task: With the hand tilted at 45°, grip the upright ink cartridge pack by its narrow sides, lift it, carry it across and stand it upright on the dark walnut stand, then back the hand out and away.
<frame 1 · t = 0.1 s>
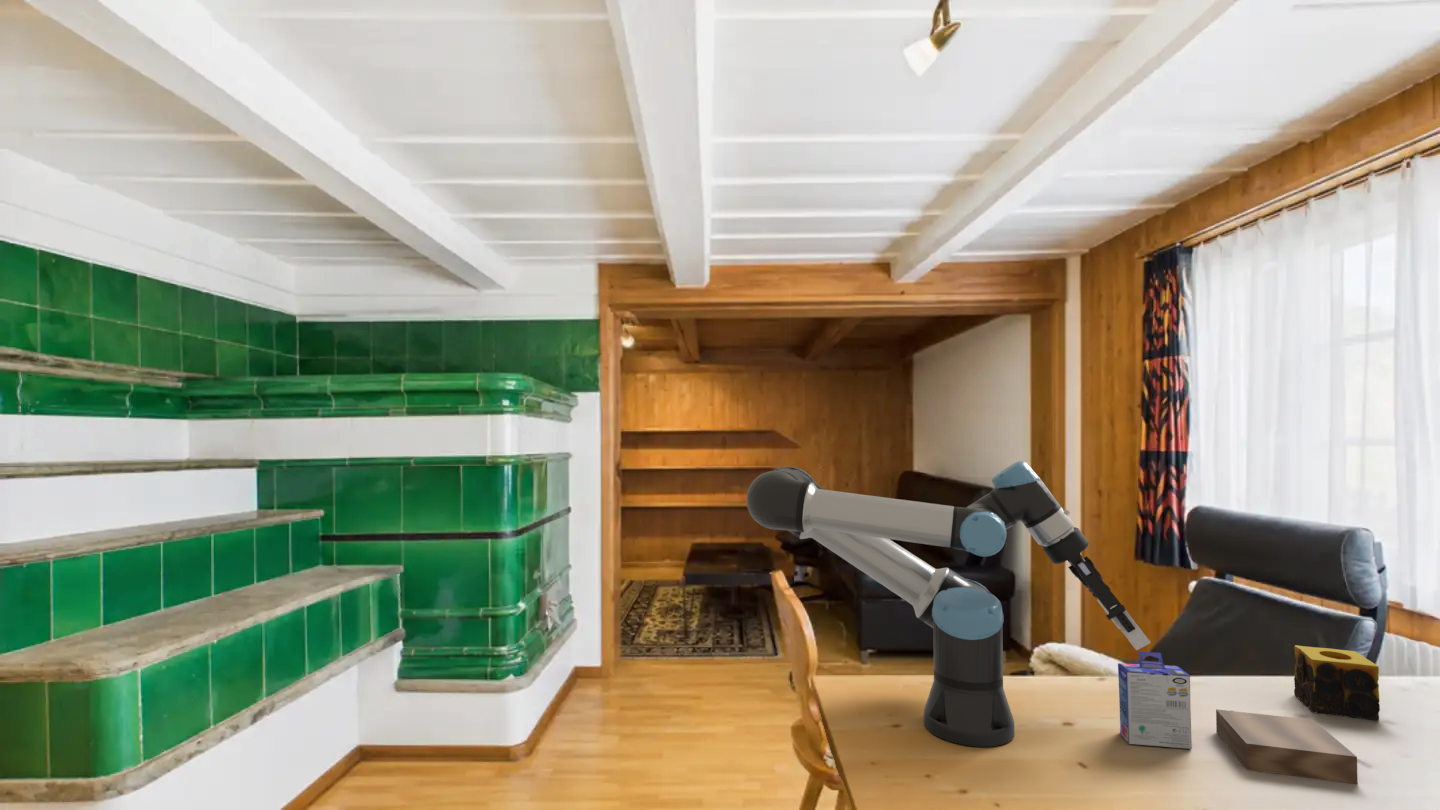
hand: (1133, 635, 130), 15 cm above the table, tool tilted 35°, fingers open, 13 cm apart
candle: (1334, 708, 135), on the table
ink cartridge box: (1154, 741, 121), on the table
walnut stand: (1281, 756, 116), on the table
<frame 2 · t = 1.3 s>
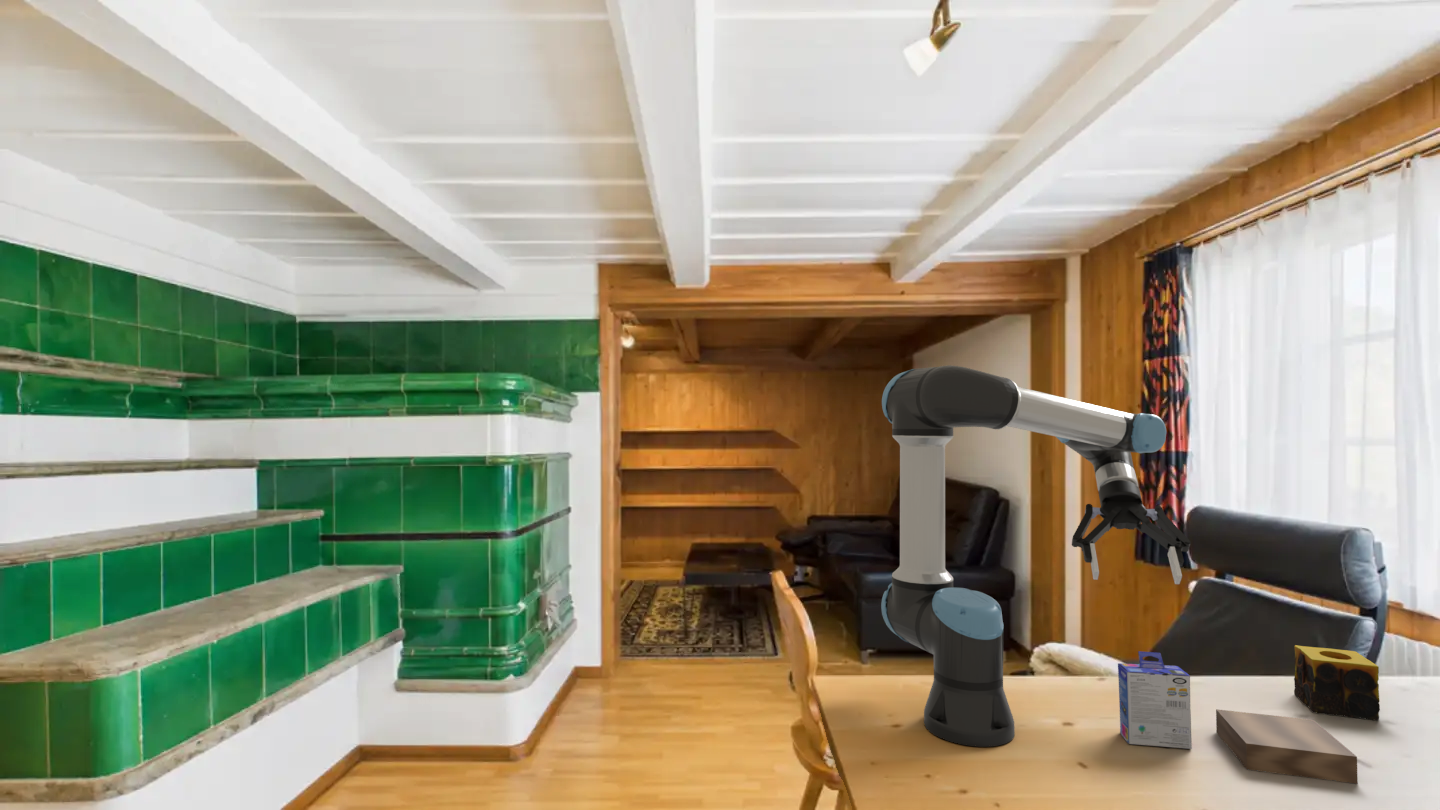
hand: (1136, 578, 134), 25 cm above the table, tool tilted 45°, fingers open, 13 cm apart
nothing on the table moved.
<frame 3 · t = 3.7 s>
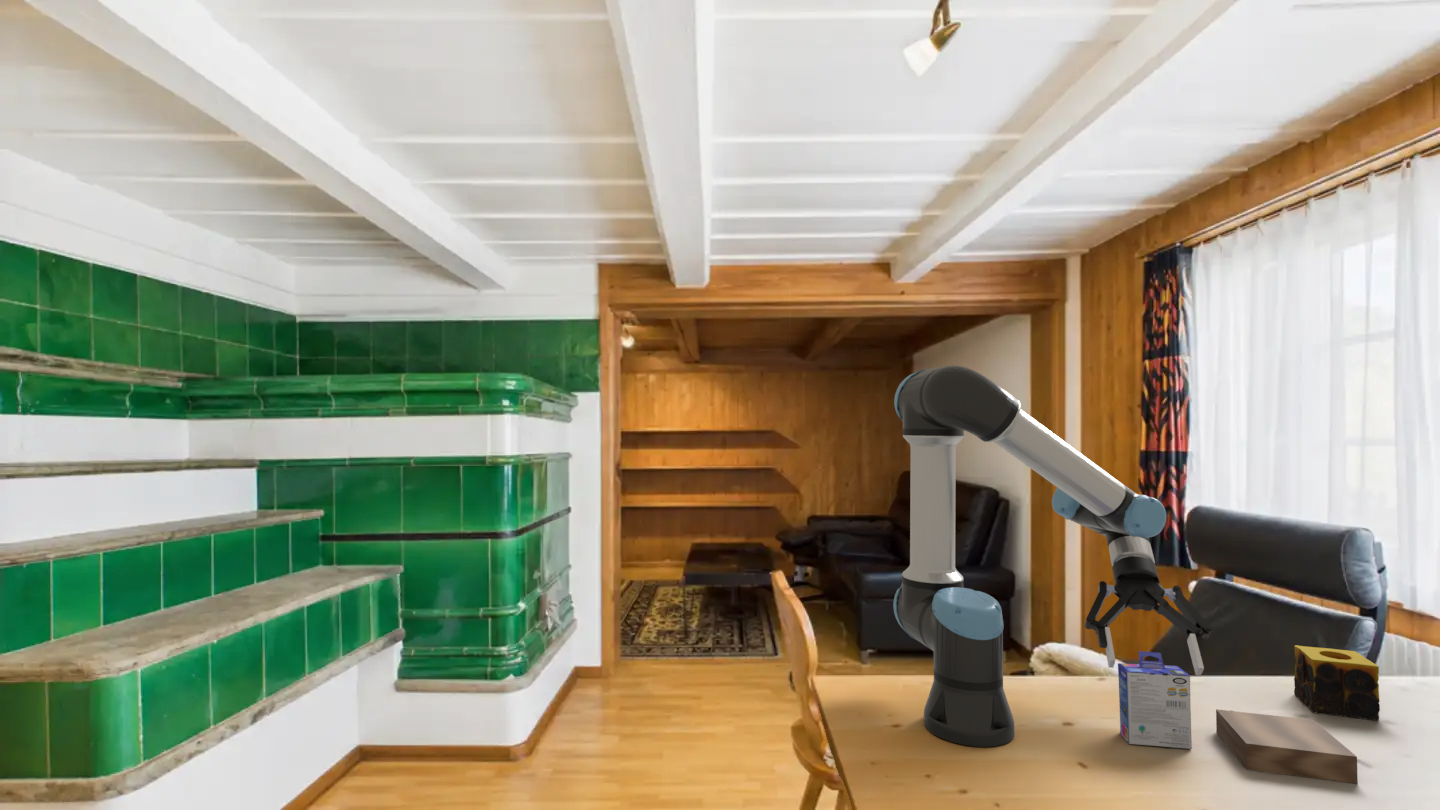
hand: (1155, 668, 126), 11 cm above the table, tool tilted 45°, fingers open, 13 cm apart
nothing on the table moved.
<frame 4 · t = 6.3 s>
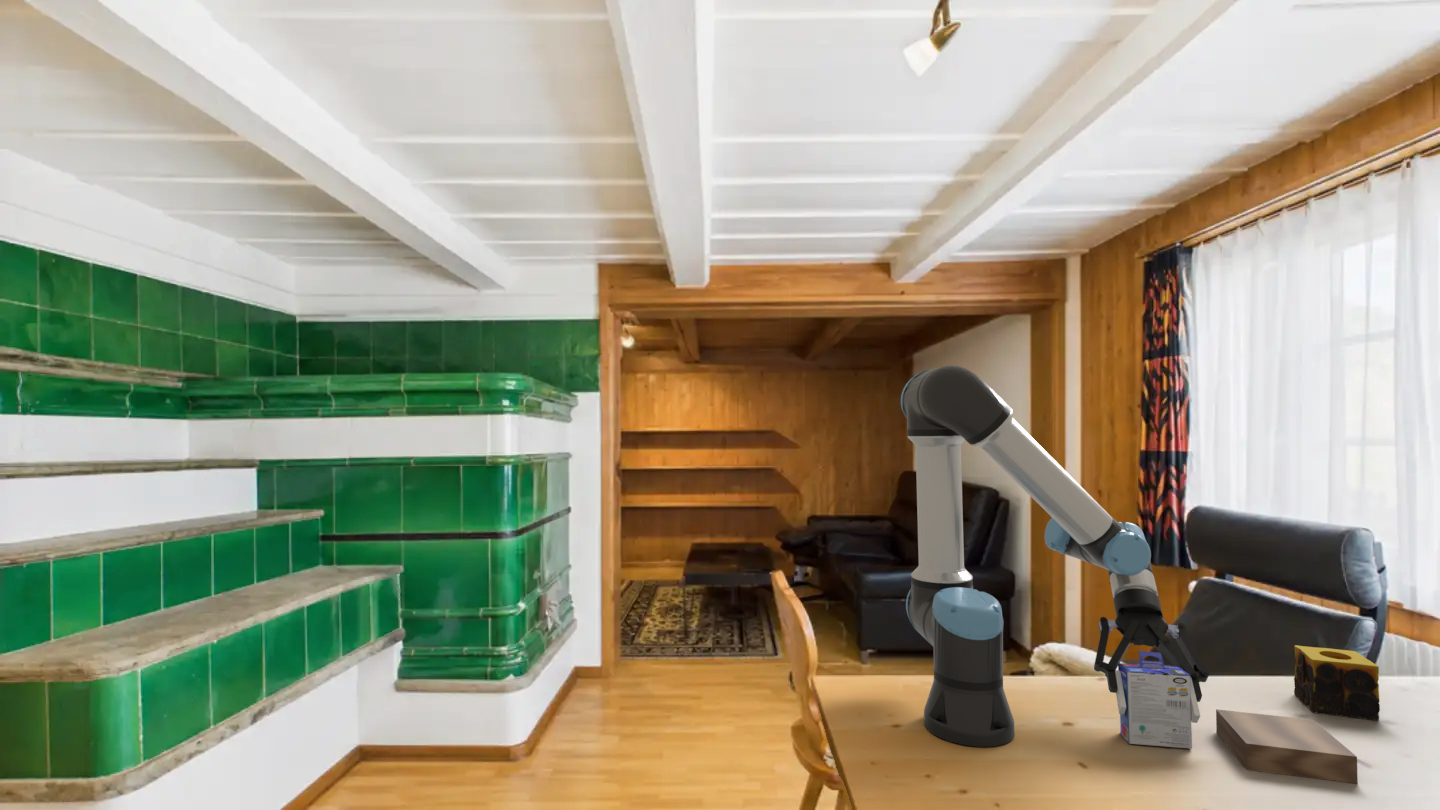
hand: (1158, 714, 119), 5 cm above the table, tool tilted 45°, fingers closed on ink cartridge box, 10 cm apart
ink cartridge box: (1155, 741, 121), on the table, touching gripper
everything else where it was.
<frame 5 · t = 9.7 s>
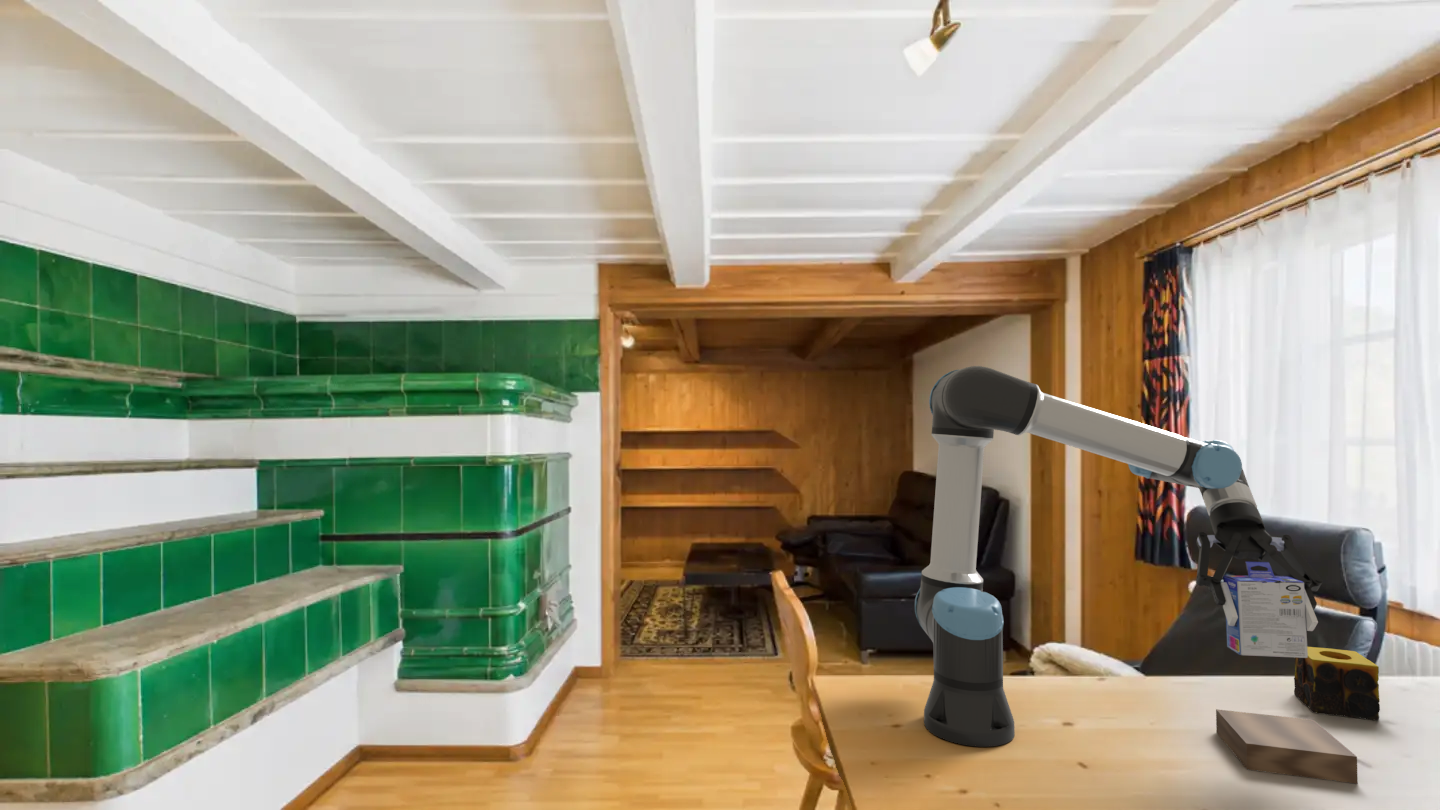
hand: (1272, 624, 114), 22 cm above the table, tool tilted 45°, fingers closed on ink cartridge box, 10 cm apart
ink cartridge box: (1265, 653, 117), point 16 cm above the table, touching gripper
everything else where it was.
when the fingers open (11 cm above the table, at t = 13.2 s): ink cartridge box drops 1 cm, resting on walnut stand.
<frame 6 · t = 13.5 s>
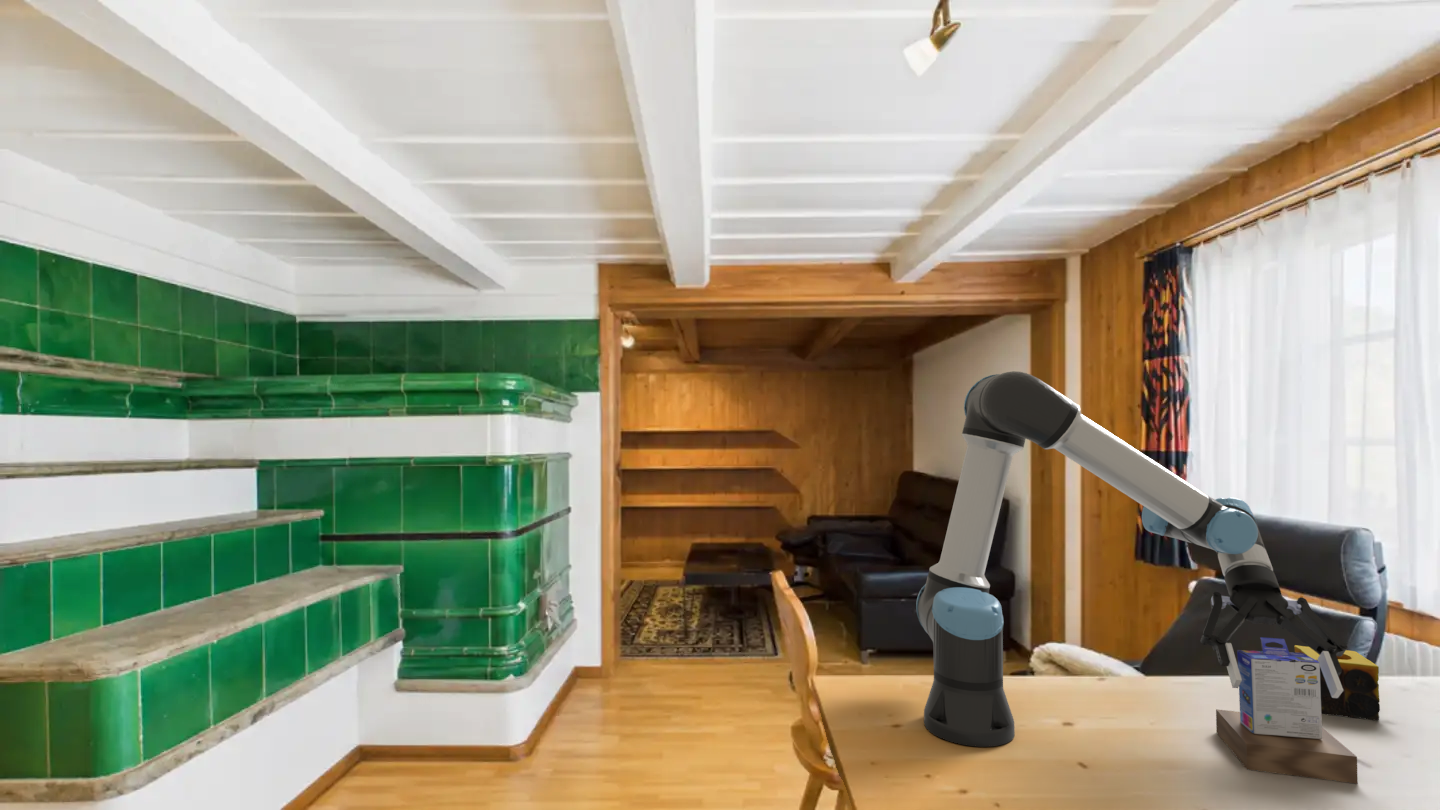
hand: (1286, 689, 114), 12 cm above the table, tool tilted 45°, fingers open, 13 cm apart
ink cartridge box: (1279, 732, 116), point 4 cm above the table, touching walnut stand
everything else where it was.
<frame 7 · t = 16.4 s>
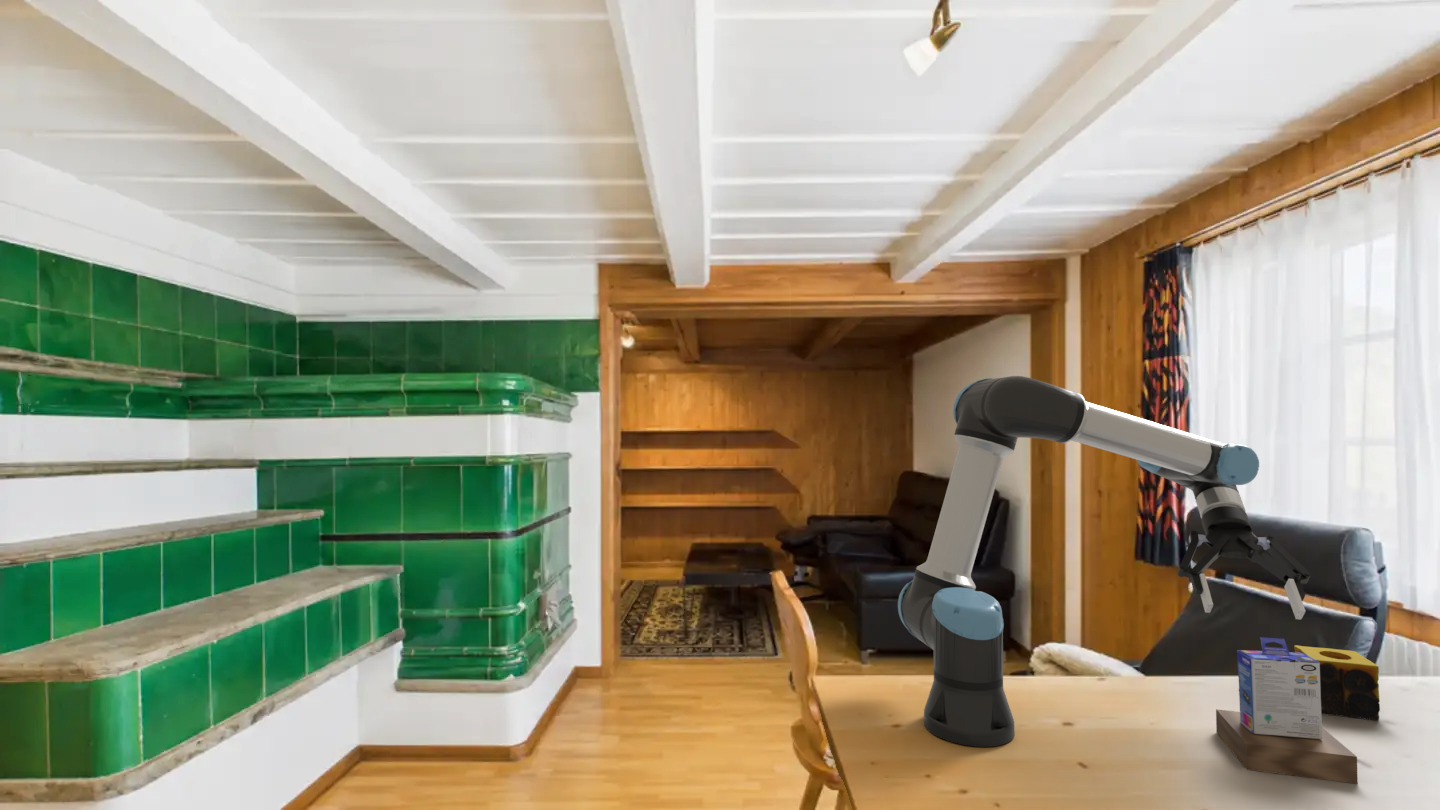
hand: (1254, 612, 126), 21 cm above the table, tool tilted 45°, fingers open, 13 cm apart
nothing on the table moved.
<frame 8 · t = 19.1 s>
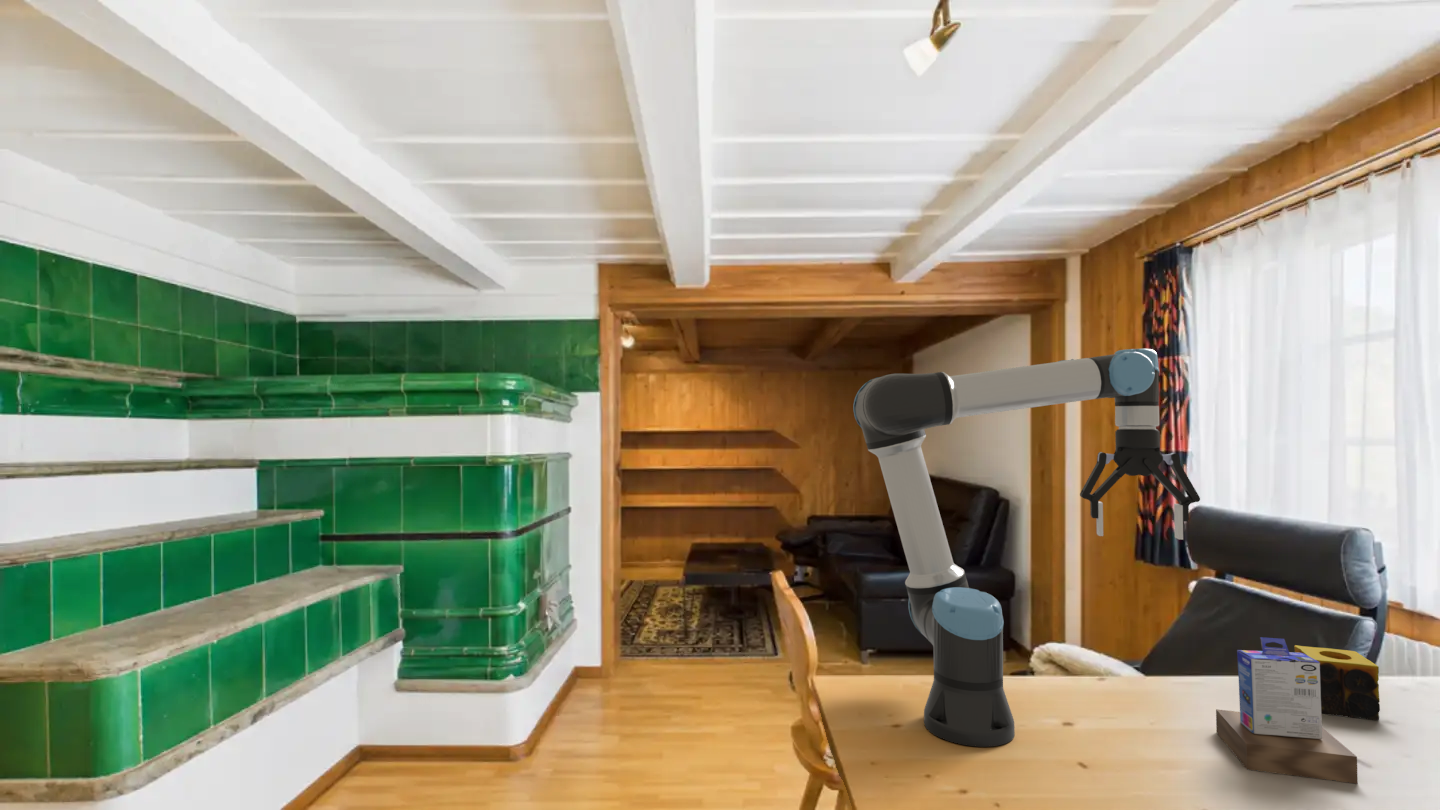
hand: (1138, 537, 140), 32 cm above the table, tool pointing down, fingers open, 13 cm apart
nothing on the table moved.
at the end: ink cartridge box inside the target area on the walnut stand (0.2 cm from its centre), point 3.8 cm above the walnut stand's base; ink cartridge box tilted 0°; the gripper is holding nothing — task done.
